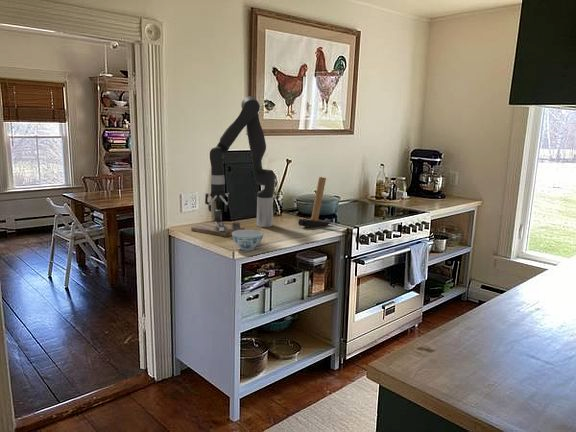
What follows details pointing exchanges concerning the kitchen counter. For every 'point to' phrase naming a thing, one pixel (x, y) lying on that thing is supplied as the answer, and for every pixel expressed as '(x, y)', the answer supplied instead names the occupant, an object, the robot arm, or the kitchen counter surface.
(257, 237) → the chinaware
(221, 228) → the lever
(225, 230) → the press base
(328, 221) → the hammer
